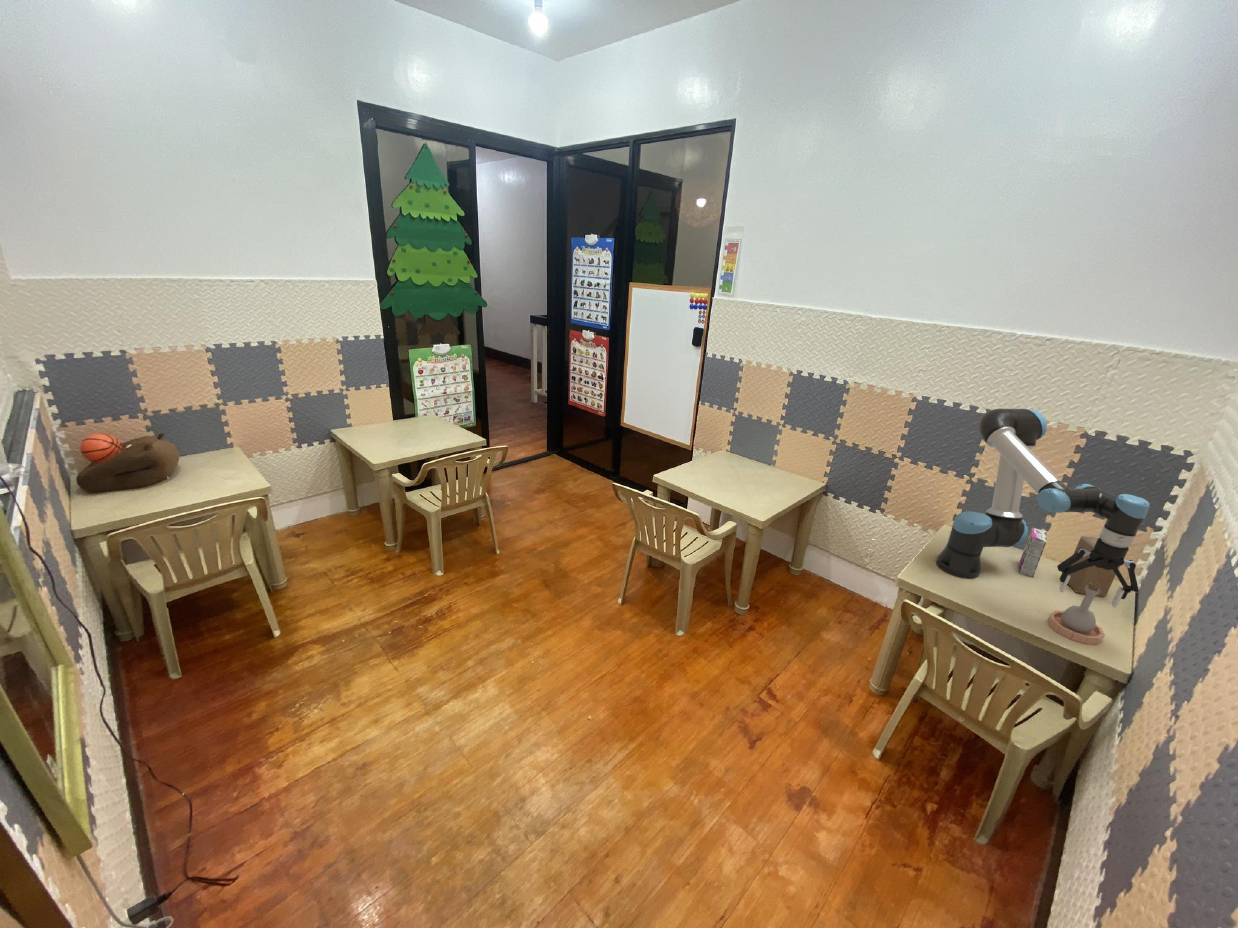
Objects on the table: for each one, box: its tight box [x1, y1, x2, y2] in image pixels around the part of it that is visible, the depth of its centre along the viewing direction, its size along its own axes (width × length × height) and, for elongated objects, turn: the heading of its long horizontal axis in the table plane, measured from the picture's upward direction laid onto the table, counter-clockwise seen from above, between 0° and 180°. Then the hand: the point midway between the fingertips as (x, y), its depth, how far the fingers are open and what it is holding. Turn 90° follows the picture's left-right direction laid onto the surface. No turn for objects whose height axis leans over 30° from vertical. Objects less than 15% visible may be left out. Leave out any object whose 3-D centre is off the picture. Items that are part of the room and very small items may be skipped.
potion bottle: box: [1061, 583, 1100, 635], centre depth 173 cm, size 9×9×18 cm
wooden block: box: [1067, 535, 1121, 597], centre depth 197 cm, size 10×10×20 cm
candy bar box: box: [1018, 527, 1048, 578], centre depth 208 cm, size 11×5×16 cm, turn 143°
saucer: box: [1047, 610, 1106, 645], centre depth 176 cm, size 14×14×2 cm
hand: (1086, 597), depth 172 cm, fingers open, 13 cm apart
